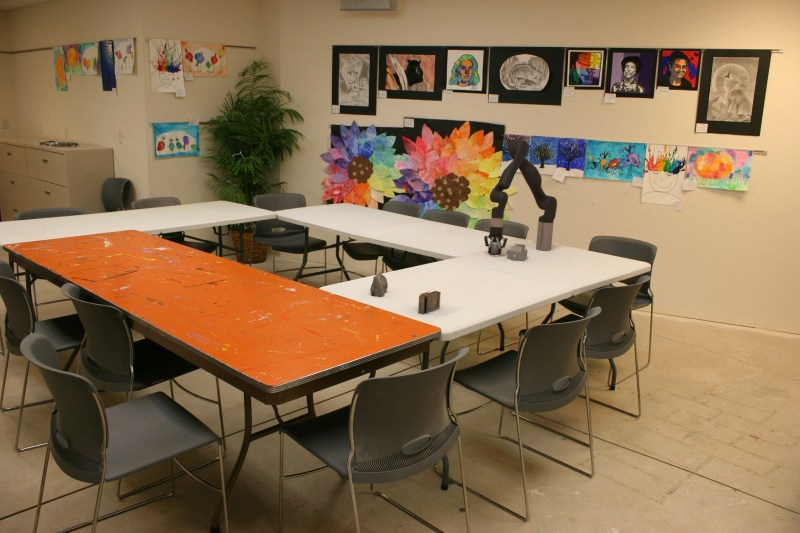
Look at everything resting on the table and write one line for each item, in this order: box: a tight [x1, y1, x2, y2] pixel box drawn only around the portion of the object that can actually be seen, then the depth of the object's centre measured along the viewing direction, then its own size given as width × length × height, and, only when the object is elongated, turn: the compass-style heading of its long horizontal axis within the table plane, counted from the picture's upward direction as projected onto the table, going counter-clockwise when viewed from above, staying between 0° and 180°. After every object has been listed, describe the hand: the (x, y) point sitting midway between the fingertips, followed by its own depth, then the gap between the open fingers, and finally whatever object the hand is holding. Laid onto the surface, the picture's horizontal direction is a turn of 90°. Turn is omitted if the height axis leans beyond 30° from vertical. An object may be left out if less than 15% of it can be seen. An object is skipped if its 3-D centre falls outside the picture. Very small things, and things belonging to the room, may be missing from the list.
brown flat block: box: [417, 290, 442, 315], centre depth 276 cm, size 11×3×10 cm, turn 141°
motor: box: [506, 243, 528, 262], centre depth 384 cm, size 12×11×8 cm
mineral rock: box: [369, 271, 389, 297], centre depth 300 cm, size 13×11×10 cm
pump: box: [489, 243, 499, 256], centre depth 391 cm, size 5×5×7 cm
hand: (494, 254), depth 392 cm, fingers closed on pump, 4 cm apart
